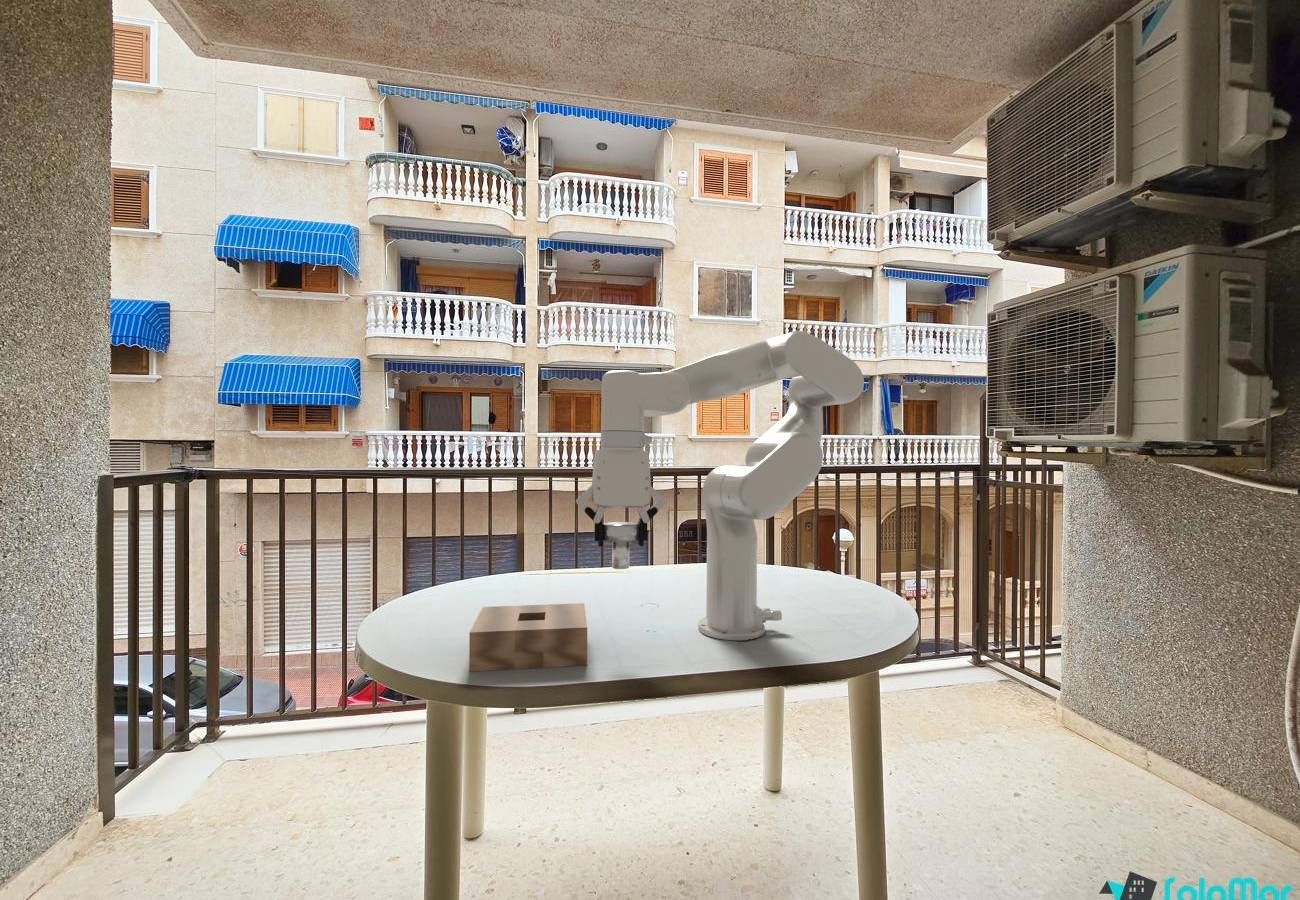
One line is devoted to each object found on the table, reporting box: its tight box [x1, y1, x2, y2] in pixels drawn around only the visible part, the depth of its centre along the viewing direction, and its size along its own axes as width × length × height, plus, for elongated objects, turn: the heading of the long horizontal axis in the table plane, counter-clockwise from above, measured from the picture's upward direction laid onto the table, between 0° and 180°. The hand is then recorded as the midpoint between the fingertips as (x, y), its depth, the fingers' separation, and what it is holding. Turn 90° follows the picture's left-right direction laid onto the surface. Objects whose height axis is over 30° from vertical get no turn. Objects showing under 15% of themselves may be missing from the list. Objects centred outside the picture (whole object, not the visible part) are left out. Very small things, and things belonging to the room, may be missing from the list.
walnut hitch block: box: [468, 602, 588, 672], centre depth 93 cm, size 18×14×6 cm
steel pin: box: [603, 521, 639, 570], centre depth 97 cm, size 6×6×8 cm
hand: (620, 544), depth 97 cm, fingers closed on steel pin, 6 cm apart
